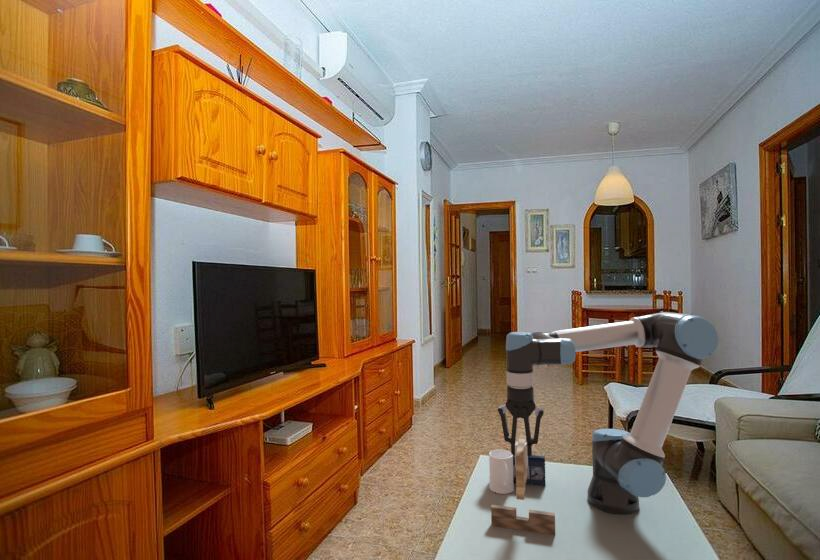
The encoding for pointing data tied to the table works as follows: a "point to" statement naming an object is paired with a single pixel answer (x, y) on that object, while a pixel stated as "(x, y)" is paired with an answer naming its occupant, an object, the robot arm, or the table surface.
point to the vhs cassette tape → (533, 471)
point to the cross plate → (521, 468)
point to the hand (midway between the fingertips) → (521, 465)
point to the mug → (501, 471)
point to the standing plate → (523, 520)
